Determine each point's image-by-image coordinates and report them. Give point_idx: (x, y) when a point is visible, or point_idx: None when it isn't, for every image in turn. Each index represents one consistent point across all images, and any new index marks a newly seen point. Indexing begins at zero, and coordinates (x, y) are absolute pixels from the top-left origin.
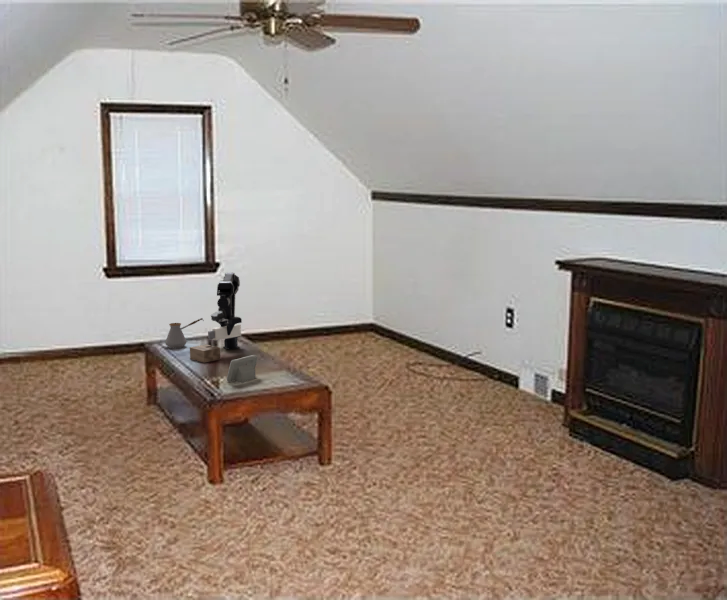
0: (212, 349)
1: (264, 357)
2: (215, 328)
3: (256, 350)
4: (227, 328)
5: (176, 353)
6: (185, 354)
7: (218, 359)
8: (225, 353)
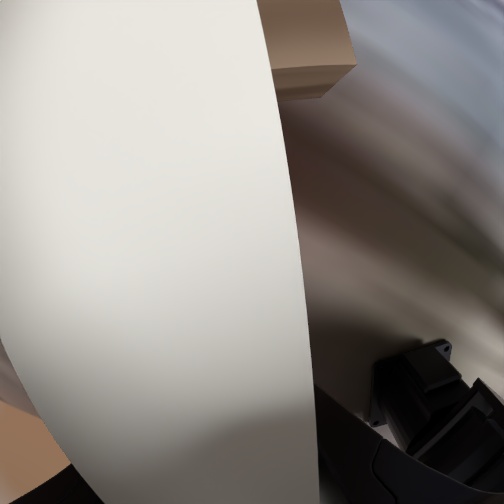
0: None
1: None
2: (52, 17)
3: None
4: (82, 482)
5: (488, 17)
6: (445, 23)
7: None
8: None
